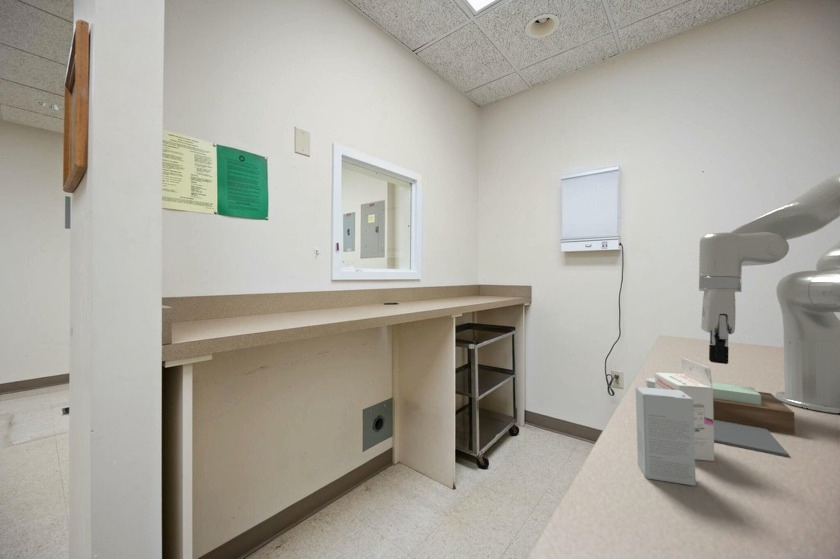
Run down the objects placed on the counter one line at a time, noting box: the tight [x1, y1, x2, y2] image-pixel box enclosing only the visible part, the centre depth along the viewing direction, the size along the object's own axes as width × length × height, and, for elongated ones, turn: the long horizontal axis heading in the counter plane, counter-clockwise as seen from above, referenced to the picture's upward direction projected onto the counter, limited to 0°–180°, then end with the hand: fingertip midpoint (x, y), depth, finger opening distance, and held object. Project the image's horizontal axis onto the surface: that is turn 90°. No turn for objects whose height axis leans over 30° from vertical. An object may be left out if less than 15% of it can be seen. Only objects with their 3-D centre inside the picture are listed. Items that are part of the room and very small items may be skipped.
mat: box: [714, 420, 790, 458], centre depth 62 cm, size 12×13×1 cm
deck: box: [713, 391, 796, 435], centre depth 72 cm, size 14×16×4 cm
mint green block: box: [712, 382, 761, 405], centre depth 70 cm, size 6×8×2 cm
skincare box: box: [635, 386, 697, 487], centre depth 48 cm, size 6×4×12 cm
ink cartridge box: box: [654, 357, 715, 462], centre depth 56 cm, size 9×5×15 cm, turn 168°
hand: (718, 362), depth 78 cm, fingers closed
